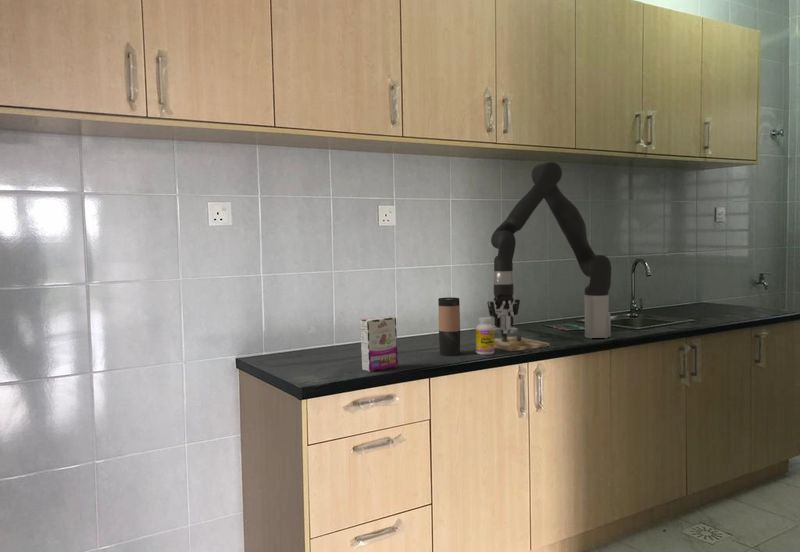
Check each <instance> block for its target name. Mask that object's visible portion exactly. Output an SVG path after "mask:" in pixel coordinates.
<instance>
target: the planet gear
mask: <svg viewBox="0 0 800 552" xmlns="http://www.w3.org/2000/svg"><path fill="white" fill-rule="evenodd" d="M502 333H503V334H507V335H508V334H516V333H518V328H517V327H513V326H511V315H508V314H501V315H500V328H496V326H494V334H501V335H502Z"/></svg>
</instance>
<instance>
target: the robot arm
mask: <svg viewBox="0 0 800 552" xmlns="http://www.w3.org/2000/svg"><path fill="white" fill-rule="evenodd" d="M562 177H563V171H562V167H561V166H560V165H559V164H558V163H557V162H554V161H552V162H551V161H547V162H544V163H540V164H538V165H535V166H534V167H533V169H532V170H531V179H532V183H533V186H532V187H531V189H530V190H529V191H528V192H527V193H526V194H525V195H524V196H523V197H522V198H521V199H520V200H519V201H518V202H517V203H516V204H515V205H514V207H513V208H512V210H511V211H510V213H509V214H508V216H507V217H506V219H505V220H504V221H502V222H501V223H500V225H499V226H498V227H497V228H496V229H495V230H494V231H493V232H492V233H493V234H492V236H491V237H490V243H491V245H492V247H493V248H495V249H497V250H498V251H497V255H496V256H495V257H494V259H493V296H494V298H493V300H488V301H487V308H488V313H489V317H491V318H492V317H493V319H494V327H496V328H500V315H502V313H503V311H504V310H505V312H506V315H511V327H513V325H514V318H515V317H514V316H516V315H517V316H518V314H519V309H520V303H521V300H520V299H518V298H514V270H513V267H514V265H513V262H514V261H513V259H514V255H515V249H516V237H515V235H514V234H516V232H519V231H521V230H522V229H523V227H525V225H526V223H527V221H529V219H530V217H531V216H532V214H533V213H534V211H535V210H536V208H537V207H538V206H539V204H540V203H541V202H542V201H543V199H544V200H545V202H546V204H547V205H548V208H549V209H550V211H551V213H552V215H553V217H554V218H555V220H556V222H557V224H558V226H559V228H560V230H561V232H562V233H563V235H564V238H566V240H567V242H568V244H569V246H570V248H571V249H572V251H573V254H574V256H575V258H576V261H577V264H578V266H579V268H580V270H581V272H582V273H583V274H584V276H586V277H587V278H589V284H588V285H587V286H586V287H585V288H584V337H585V338H586V339H592V338H605V339H609V338H611V337H612V336H611V335H612V334H611V333H612V332H611V327H612V326H611V325H612V324H611V318H612V317H611V316H612V315H611V313H609V307H610V306H609V304H610V303H609V299H610V298H609V296H610V295H609V294H610V293H609V291H610V288H611V285H612V283H611V282H612V264H611V261H610V259H609V257H607V256H606V255H603V254H596V253H595V252H594V251H593V249H592V247H591V245H590V244H589V241H588V236H587V234H588V233H587V226H586V222H585V220H584V218H583V217H582V215H581V213H580V211H579V209H578V207H576V205H575V204H574V203H572V201H571V200H569V199H568V198H567V197H566V196H565V195H564V194H563V192H562V191H561V190H560V188H559V186H558V184H559V182H560V181H561V179H562ZM608 337H609V338H608Z"/></svg>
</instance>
